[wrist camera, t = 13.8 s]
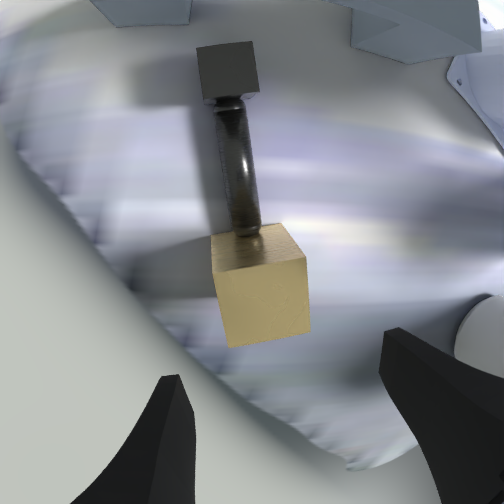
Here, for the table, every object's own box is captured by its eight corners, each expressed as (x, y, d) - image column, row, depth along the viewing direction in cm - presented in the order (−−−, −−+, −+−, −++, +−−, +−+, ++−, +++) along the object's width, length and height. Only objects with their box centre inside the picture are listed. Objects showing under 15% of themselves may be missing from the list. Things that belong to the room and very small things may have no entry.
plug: (182, 65, 14) (173, 40, 10) (259, 55, 15) (279, 28, 10) (222, 297, 20) (228, 348, 15) (287, 285, 20) (310, 332, 15)
